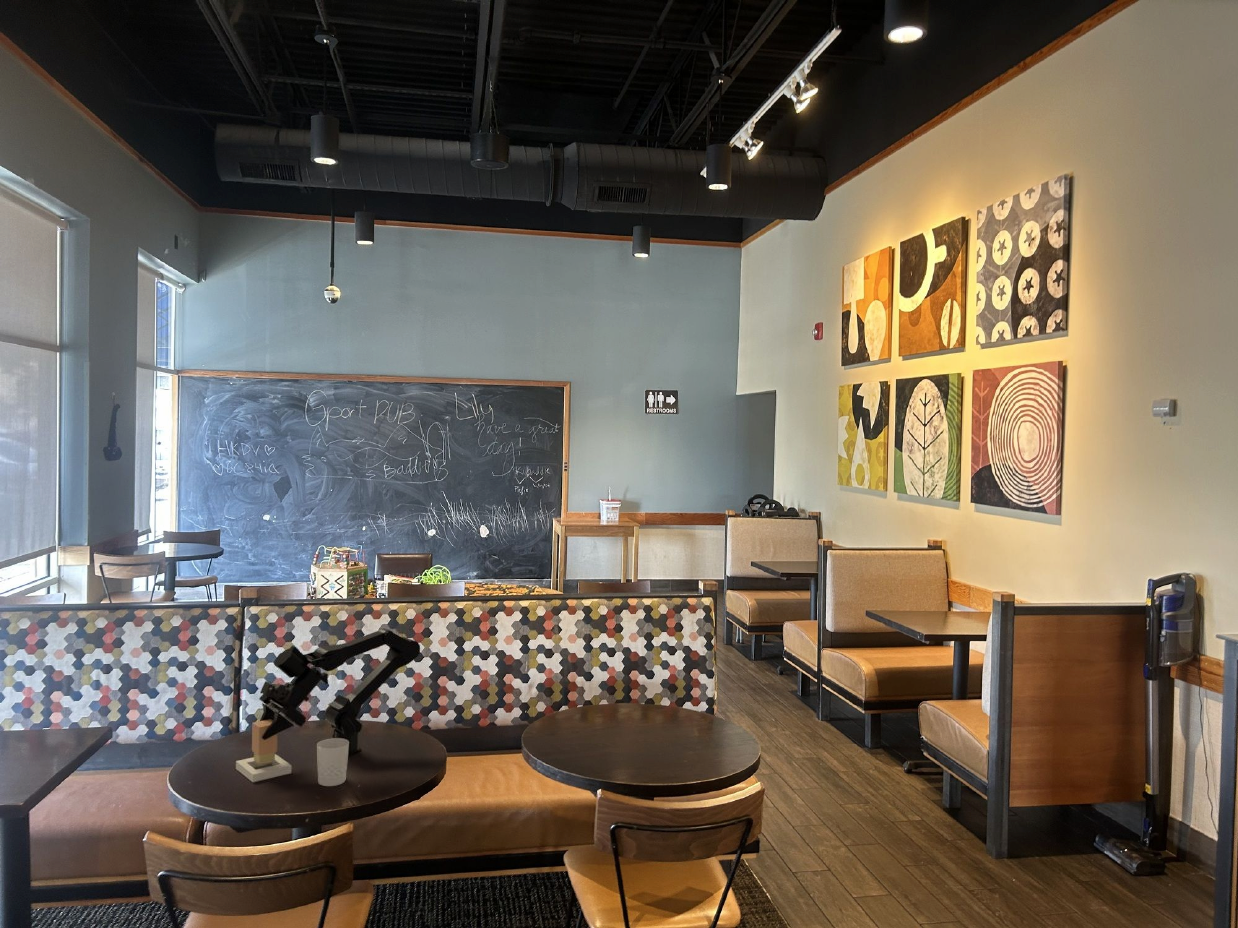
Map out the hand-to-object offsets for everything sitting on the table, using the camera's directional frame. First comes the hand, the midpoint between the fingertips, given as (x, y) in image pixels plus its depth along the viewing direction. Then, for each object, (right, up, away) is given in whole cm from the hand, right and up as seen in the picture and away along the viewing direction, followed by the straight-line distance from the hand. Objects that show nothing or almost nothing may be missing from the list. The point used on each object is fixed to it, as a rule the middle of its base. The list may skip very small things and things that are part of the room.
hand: (259, 736), depth 224 cm
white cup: (+21, -10, -4) cm, 24 cm away
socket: (+1, -9, +1) cm, 10 cm away
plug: (+1, -7, +1) cm, 7 cm away
